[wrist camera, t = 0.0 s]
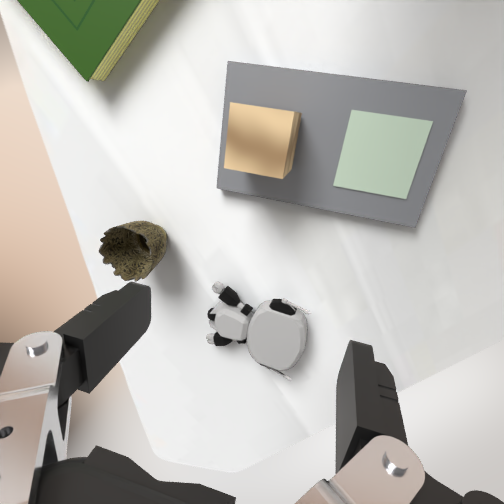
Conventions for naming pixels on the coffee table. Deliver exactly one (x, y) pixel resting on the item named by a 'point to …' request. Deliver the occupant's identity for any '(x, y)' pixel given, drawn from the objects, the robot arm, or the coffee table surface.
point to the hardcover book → (91, 29)
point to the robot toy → (260, 328)
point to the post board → (347, 140)
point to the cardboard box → (261, 140)
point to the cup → (133, 249)
